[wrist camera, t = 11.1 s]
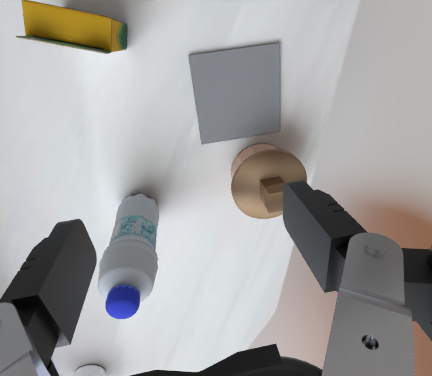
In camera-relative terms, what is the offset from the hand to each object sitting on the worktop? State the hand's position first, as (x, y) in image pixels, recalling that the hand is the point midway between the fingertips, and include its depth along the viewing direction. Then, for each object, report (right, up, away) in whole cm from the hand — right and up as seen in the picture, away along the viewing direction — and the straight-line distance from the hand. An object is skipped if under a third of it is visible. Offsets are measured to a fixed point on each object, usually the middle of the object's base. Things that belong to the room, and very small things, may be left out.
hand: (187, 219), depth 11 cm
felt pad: (+4, +14, +28) cm, 31 cm away
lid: (+9, +2, +29) cm, 31 cm away
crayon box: (-13, +20, +22) cm, 32 cm away
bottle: (-11, -2, +34) cm, 36 cm away
